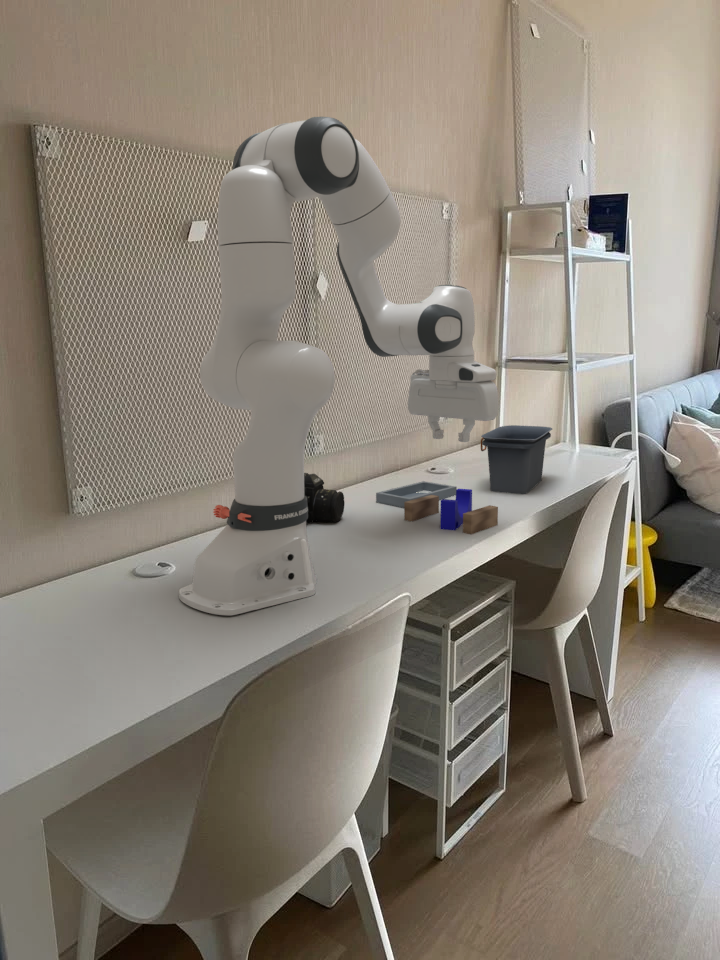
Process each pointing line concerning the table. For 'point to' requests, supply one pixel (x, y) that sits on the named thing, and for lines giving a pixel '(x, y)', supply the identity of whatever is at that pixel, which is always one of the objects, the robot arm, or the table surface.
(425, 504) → the far walnut block
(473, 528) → the near walnut block
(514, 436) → the storage bin
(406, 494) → the slate tray
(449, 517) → the blue curved block
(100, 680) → the table surface
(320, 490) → the film camera
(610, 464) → the table surface
